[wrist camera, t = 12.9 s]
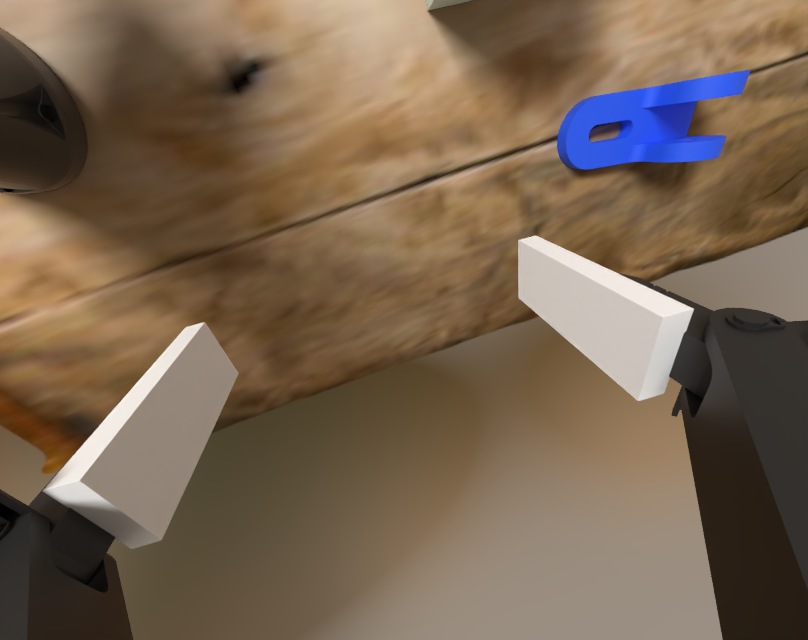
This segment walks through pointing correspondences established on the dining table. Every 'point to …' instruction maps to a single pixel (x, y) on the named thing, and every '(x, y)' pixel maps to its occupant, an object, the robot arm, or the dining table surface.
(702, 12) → the dining table surface
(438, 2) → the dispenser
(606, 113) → the bracket
